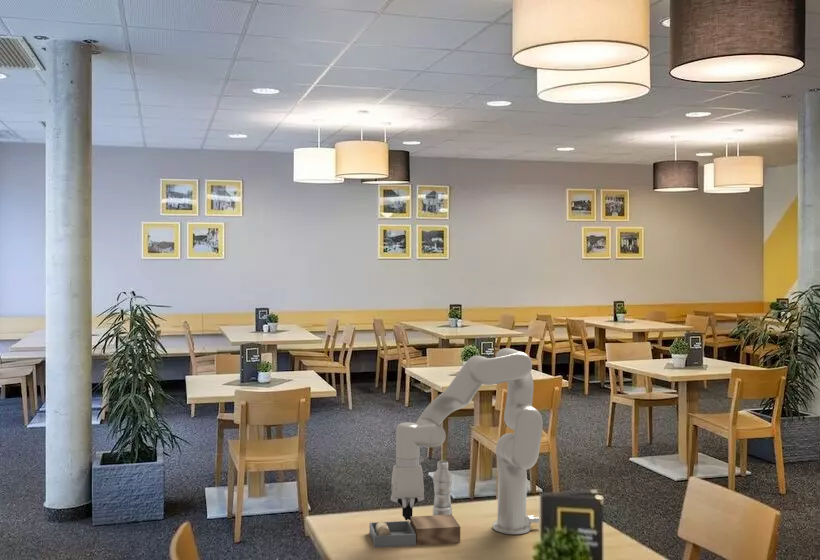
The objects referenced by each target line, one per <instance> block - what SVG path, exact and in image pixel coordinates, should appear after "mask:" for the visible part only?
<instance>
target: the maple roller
mask: <svg viewBox="0 0 820 560" xmlns="http://www.w3.org/2000/svg"><path fill="white" fill-rule="evenodd" d="M385 522H386V521H379V523H377V525H376V527H375V529H376V532H377V535H378V536H381V535H391V533H390V530H389V528H388V526H387V524H386V523H385Z"/></svg>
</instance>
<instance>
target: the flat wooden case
mask: <svg viewBox="0 0 820 560" xmlns="http://www.w3.org/2000/svg"><path fill="white" fill-rule="evenodd" d="M409 522H410V524H411V526H412V528H413V530H414V531H415V533H416V546H417V545H420V546H421V545H434V544H435V545H437V544H458V543H461V526H460V524H459V523H458V521H457V519H455V517H454V516H453V514H452V515H434V516H433V515H415V516H413V515H412V516H411V520H409Z"/></svg>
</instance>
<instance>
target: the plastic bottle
mask: <svg viewBox="0 0 820 560" xmlns="http://www.w3.org/2000/svg"><path fill="white" fill-rule="evenodd" d="M436 465H437V466H436V468H437V469H436V470H435V472H434V473H433V476H432V480H433V481H432V482H433V488H434V489H433V491H434V499H433V501H434V502H433V508H432V516H434V515H452V516H453V510H452V509H453V508H452V501H451V493H452V490H451V488H452V481H453V475H452V473H451V471H450V470H449V462H448V461H447V460H439V461H437V464H436Z"/></svg>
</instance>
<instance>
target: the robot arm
mask: <svg viewBox="0 0 820 560" xmlns="http://www.w3.org/2000/svg"><path fill="white" fill-rule="evenodd" d="M532 369H533V361H532V359H531V357H530V355H528V354H527V353H525V352H523V351H519V350H516V349H514V348H509V347H505V348H504V347H503V348H501V349H500V350H498V351H497V352H496V355H495V357H490V358H489V357H486V356H482V355H473V356H470V357H469V358H468V360H467V361H466V362H465V363H464V365H463V366H462V367H461V368H460V369H459V371H458V373H457V374H456V375H455V377H454V378H453V379H452V381H451V382H450V383H449V385H448V387H447V388H446V389H445V390H444V391H443V392H442V393H440V394H439V395H438V396H437V397H436V398H434V399H433V400H432V401H431V402H430V403H429V404H428V405H427V406H426V407H425V409H424V410H423V412H422V413H421V414H420V415H419V417H418V419H417V420H416V421H415V422H407V421H405V422H401V423H398V425H397V426H396V430H395V431H396V438H395V439H396V441H395V442H396V445H395V446H396V447H395V449H396V450H395V451H396V452H395V458H396V459H395V464H394V465H393V466H392V467H393V468H392V475H391V483H390V484H391V486H390V491H391V492H390V493H391V496H390V501H391V502H394V503H398V504H400V505H401V507H402V517H403V518H404V521H410V520H411V517H413V508H414V507H415V505H416V504H417V503H418V502H421V501H424V500H425V495H424V494H425V493H424V492H425V488H424V487H425V485H424V473H423V468H422V465H421V463H422V464H423V463H424V462H425V458H424V457H421V455H420V453H421V452H420V451H421V449H420V448H421V447H427V448H438V447H440V446H441V445H443V444H444V442H445V441H446V436H447V435H446V430H445V429H444V427H442V425H441V424H442V422H443V421H444V420H445V419H446V418H447V417H448V416H449V415H451V414H452V413H453V412H455V411H458V410H461V409H463V408H465V407H467V406H468V405H469V404H470V402H471V401H472V400H473V398H474V397H475V396H476V394H477V392H478V391H479V390H480V388H481V387H482V386H491V385H493V386H494V385H497V384H498V385H500V384H502V383H507V394H506V402H505V408H504V414H503V415H504V416H503V420H504V423H505V425H506V426H507V427H508V428H509V429H511V430H512V431H513V433H512V432H507V433H504V434H503V435H502V436H500V437H499V439H498V441H497V442H496V447H495V451H496V452H495V453H496V455H495V456H496V461H497V519H496V520H495V521H494V522H493V523H492V529H493V530H494V531H496V532H498V533H501V534H505V535H522V534H527V533H529V532H530V531H531V529H532V526H531V524H532V523H533V524H539V517H540V516H535V515H534V514H533V515H528V514H527V493H528V492H527V489H528V488H527V486H528V485H527V484H528V473H527V470H529V469H531V468H533V467H534V466H535V465H536V463H537V461H538V459H539V455H540V450H541V443H542V442H541V441H542V437H543V436H542V435H543V427H544V423H543V422H544V421H543V418H542V414H541V412H540V411H539V410H538V409H537V408H535V407H534V406H533V400H534V399H533V398H534V380H533V375H532V372H531V371H532ZM406 499H408V504H407V501H406Z"/></svg>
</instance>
